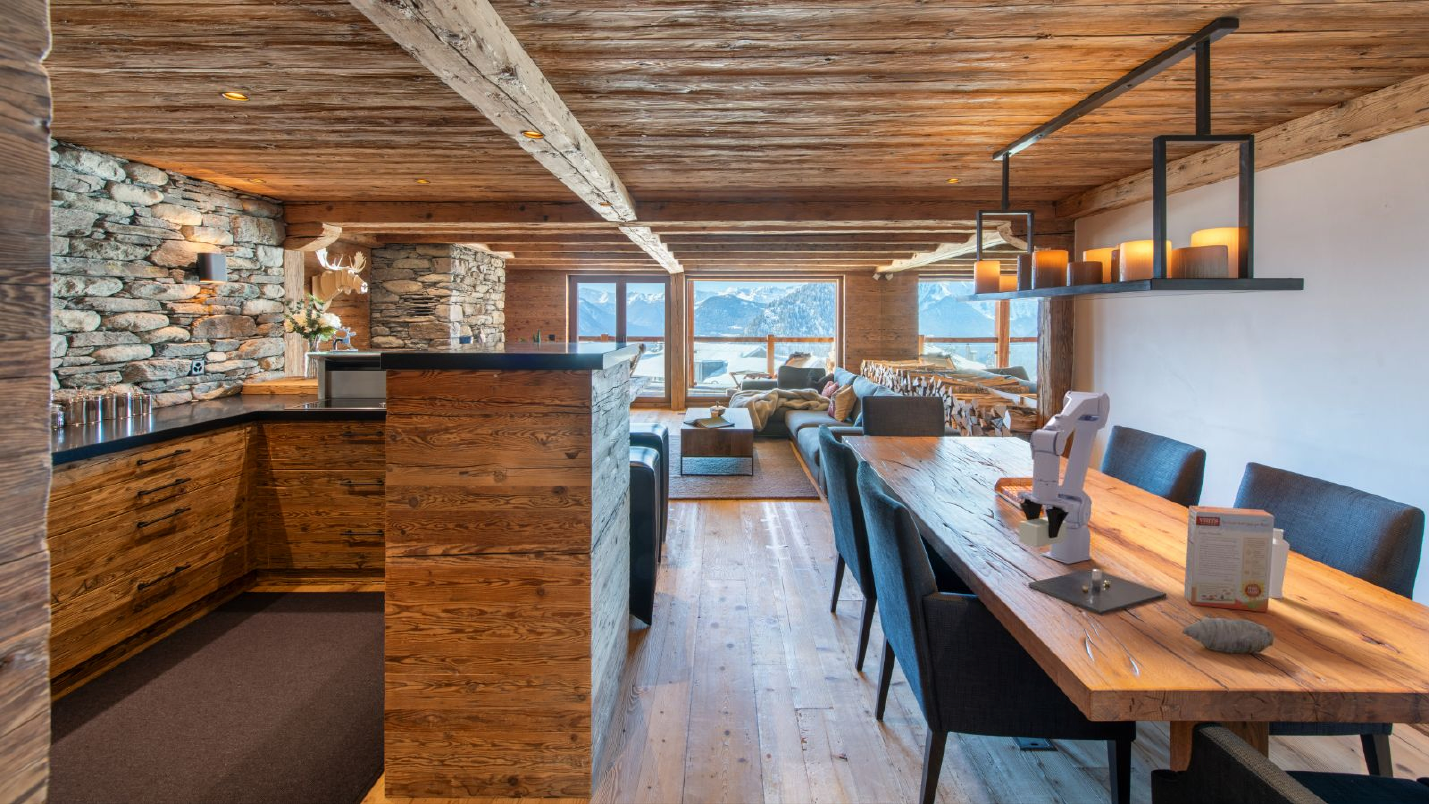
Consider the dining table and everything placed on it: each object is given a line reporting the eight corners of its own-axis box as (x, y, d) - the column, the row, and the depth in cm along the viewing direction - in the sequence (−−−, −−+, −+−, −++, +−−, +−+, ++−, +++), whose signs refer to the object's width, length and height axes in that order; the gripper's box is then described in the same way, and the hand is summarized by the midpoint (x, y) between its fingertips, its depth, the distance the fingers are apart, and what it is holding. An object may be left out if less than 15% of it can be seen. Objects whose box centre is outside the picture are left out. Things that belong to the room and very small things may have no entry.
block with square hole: (1047, 536, 177) (1048, 516, 176) (1065, 541, 172) (1066, 521, 172) (1019, 541, 172) (1020, 521, 172) (1036, 547, 168) (1037, 526, 167)
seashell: (1174, 623, 137) (1198, 591, 133) (1247, 656, 134) (1273, 625, 131) (1182, 643, 131) (1207, 610, 128) (1259, 678, 128) (1287, 646, 125)
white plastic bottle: (1279, 600, 154) (1285, 534, 153) (1256, 594, 158) (1261, 528, 157) (1290, 597, 156) (1296, 531, 155) (1267, 590, 160) (1272, 526, 159)
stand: (1092, 571, 173) (1093, 551, 172) (1166, 597, 157) (1167, 575, 156) (1028, 586, 163) (1029, 565, 163) (1100, 615, 147) (1101, 591, 147)
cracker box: (1257, 603, 153) (1265, 508, 151) (1268, 614, 148) (1276, 516, 145) (1182, 595, 158) (1188, 503, 156) (1190, 605, 152) (1197, 510, 150)
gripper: (1009, 475, 175) (1007, 528, 177) (1060, 487, 162) (1057, 544, 164) (1029, 472, 178) (1027, 525, 180) (1081, 484, 165) (1078, 540, 167)
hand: (1043, 534), depth 172 cm, fingers closed on block with square hole, 5 cm apart
